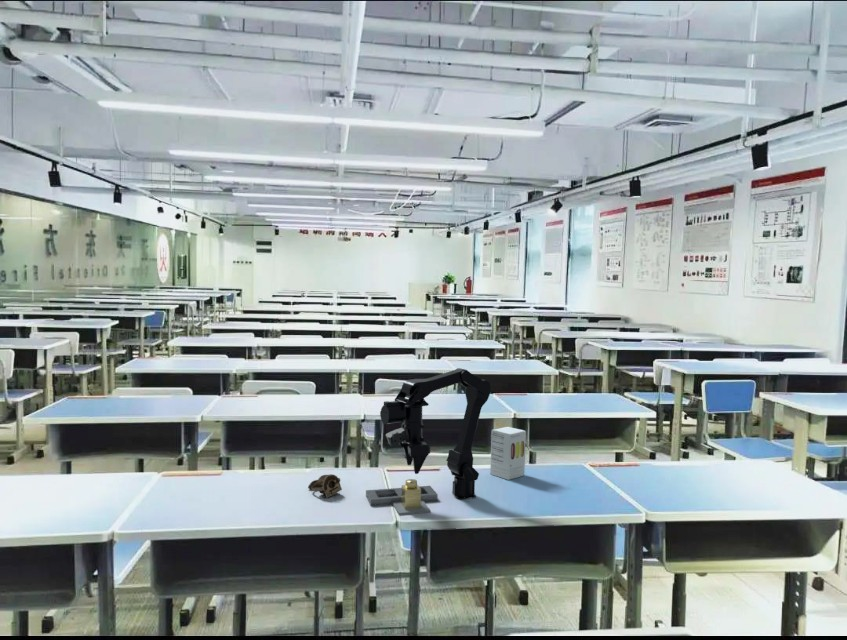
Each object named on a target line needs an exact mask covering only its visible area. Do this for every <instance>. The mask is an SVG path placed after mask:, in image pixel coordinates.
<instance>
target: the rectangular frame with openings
mask: <svg viewBox="0 0 847 640" xmlns="http://www.w3.org/2000/svg"><path fill="white" fill-rule="evenodd" d="M418 486H419V485H418ZM419 487H420V489H421V500H423V501H424V502H425V503H426V502H437V501H438V495H439V494H438V493H437V492H436V491H435V489H434V488H433V487H432V486H431V485H422V486H419ZM401 496H402V487H393V488H379V489H367V490H366V489H365V497H366V499H367V502H368V503H369V505H370V507H373V506H385V505H393V504H392V502H401Z"/></svg>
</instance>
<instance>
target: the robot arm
mask: <svg viewBox="0 0 847 640" xmlns="http://www.w3.org/2000/svg"><path fill="white" fill-rule="evenodd" d="M459 383H460V384H461V386H462V387H465V399H466V408H465V411H464V417H463V420H462V424H461V428H460V431H459V436H458V439H457V444H456V446H455V447H454V448H453V449H452V448H449V449H448V455H447V458H446V460H445V461H446V462H447V464H446V465H447V467H448V470H450V472H451V475H452V476H453V477H454V478H453V481H452V492H451V493H452V494H453V496H454V497H456V499H457V500H462V499H463V500H464V499H465V500H466V499H475V498H477V495H476V493H475V491H476V490H475V487H476V486H475V484H476V481H478V479H479V475H480V473H479V472H478V471H477V470H476V469H475V468H474V467H473V465H474V455H473V452H472V451H473V450H472V448H473V443H474V439H475V436H476V431H477V427H478V424H479V419H480V415H481V410H482V408H483V406H484V405H485V404H486V403H487V401H488V400H489V398H490V395H491V392H492V385H491V383H490V382H489V381H488V380H487V379H481V378H480V377H478V376H476V375H474V374H473V373H472V372H470V371H469V370H467V369H465V368H460V367H459V368H458V367H457V368H456V369H454V370H451V371H448V372H445V373H440V374H436V375H434V376H432V377H428V378H414V379H413V378H412V379H407V380H405V381H404V382H403V384H402V386H401V389H400V391H399V392H398V393H397V395H396V397H395V398H394V400H393V401H392V400H391V401H388V400H386V401H383V405H382V407H381V409H380V412H379V414H380V415H379V417H380V420H381V422H382V424H384V425H390V424H397V423H401V427H400V428H396V429H393V430H392V431H389V432H387V433H386V434H385V438H386V440H387V444H389V445H390V447H395V446H396V445H397V444H399V445H400V446H401V448H403V451H404V456H405V457H404V458H405V460H406V465H407V466H411V465H413V472H414V474H415V475H418V474H419V473H420V471H421V469H422V467H423V465H424V462H425V460H426V459H427V457H428V456H429V454H431V446H429V445H428V444H427V443H426V441H425V439H424V437H423V429H425V424H424V423H423V407H428V406H430V404H429V403H428V402H427V401H426V400H425V398H427V397H428V396H430V394H432V393H433V392H435V391H438V390H441V389H444V388H447V387H449V386H453V385H457V384H459ZM412 463H413V464H412Z"/></svg>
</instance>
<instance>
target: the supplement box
mask: <svg viewBox="0 0 847 640" xmlns="http://www.w3.org/2000/svg"><path fill="white" fill-rule="evenodd" d="M526 435H527V432H526V430H524V429H520V428H515V427H511V426H505V427H500V428H496V429H495V428H494V429H491V436H490V440H491V441H490V443H491V444H490V466H489V467H490V469H489V471H490V472H489V473H490V474H489V475H492V476H496V477H499V478H502V479H504V480H505V479H506V480H508V481H510V480H513V479H516V478H519V477H522V476H525V473H526V472H525V470H526V467H525V466H526V441H527V440H526V439H527V437H526Z"/></svg>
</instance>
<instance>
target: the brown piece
mask: <svg viewBox="0 0 847 640" xmlns="http://www.w3.org/2000/svg"><path fill="white" fill-rule="evenodd" d="M307 487H308V490H311V491H314V492H319V493H320V494H322V495H324V496H325V498H327V499H328V498H330V497H331V496H333V495H336V494H337V493H339V492H340V491H342V485H341V478H340V477H338V476H337V475H335V474H331V473H330V474H323V475H321V476H319V478H318V479H315V480H313V481H311V482H310V483H309V484H308V486H307Z"/></svg>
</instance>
